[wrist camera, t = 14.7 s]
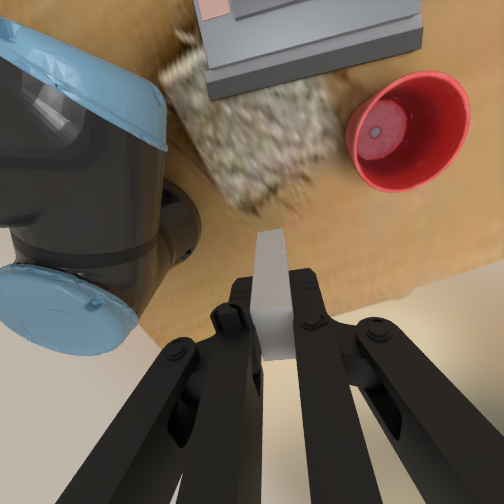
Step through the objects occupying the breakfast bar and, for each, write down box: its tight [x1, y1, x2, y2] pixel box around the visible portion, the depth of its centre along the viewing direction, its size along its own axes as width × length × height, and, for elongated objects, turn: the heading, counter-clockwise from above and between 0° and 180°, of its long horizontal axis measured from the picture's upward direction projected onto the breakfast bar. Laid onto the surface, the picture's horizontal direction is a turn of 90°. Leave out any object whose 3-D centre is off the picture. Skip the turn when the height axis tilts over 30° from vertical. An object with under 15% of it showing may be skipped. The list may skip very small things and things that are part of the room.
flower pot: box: [345, 71, 470, 193], centre depth 29 cm, size 11×11×10 cm
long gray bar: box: [204, 13, 423, 101], centre depth 29 cm, size 24×3×2 cm, turn 102°
